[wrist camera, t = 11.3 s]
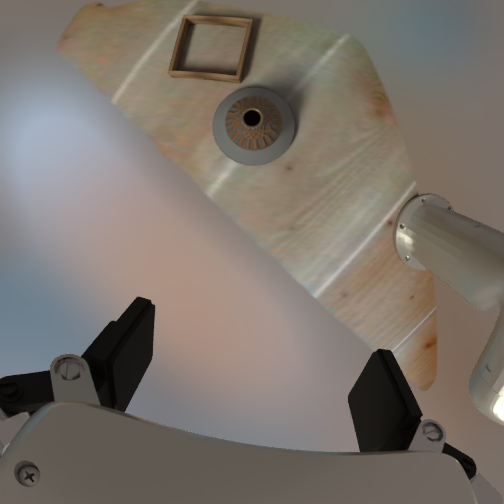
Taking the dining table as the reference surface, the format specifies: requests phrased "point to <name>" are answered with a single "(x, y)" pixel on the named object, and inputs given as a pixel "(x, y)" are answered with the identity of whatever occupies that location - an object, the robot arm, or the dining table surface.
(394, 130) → the dining table surface
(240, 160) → the plate
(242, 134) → the vase
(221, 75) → the holder
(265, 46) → the dining table surface
